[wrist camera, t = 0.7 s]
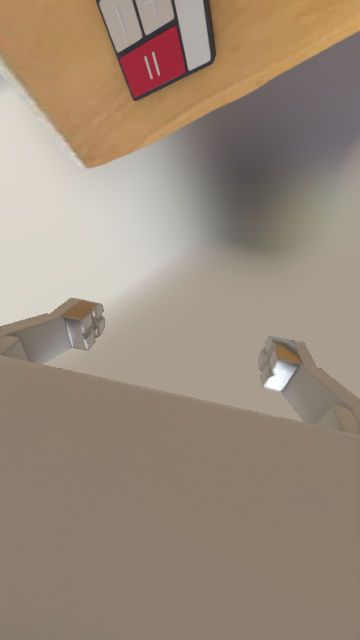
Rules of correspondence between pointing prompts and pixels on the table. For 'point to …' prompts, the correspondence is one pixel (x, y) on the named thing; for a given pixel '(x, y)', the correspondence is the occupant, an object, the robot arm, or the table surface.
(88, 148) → the table surface
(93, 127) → the table surface
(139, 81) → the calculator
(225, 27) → the table surface
